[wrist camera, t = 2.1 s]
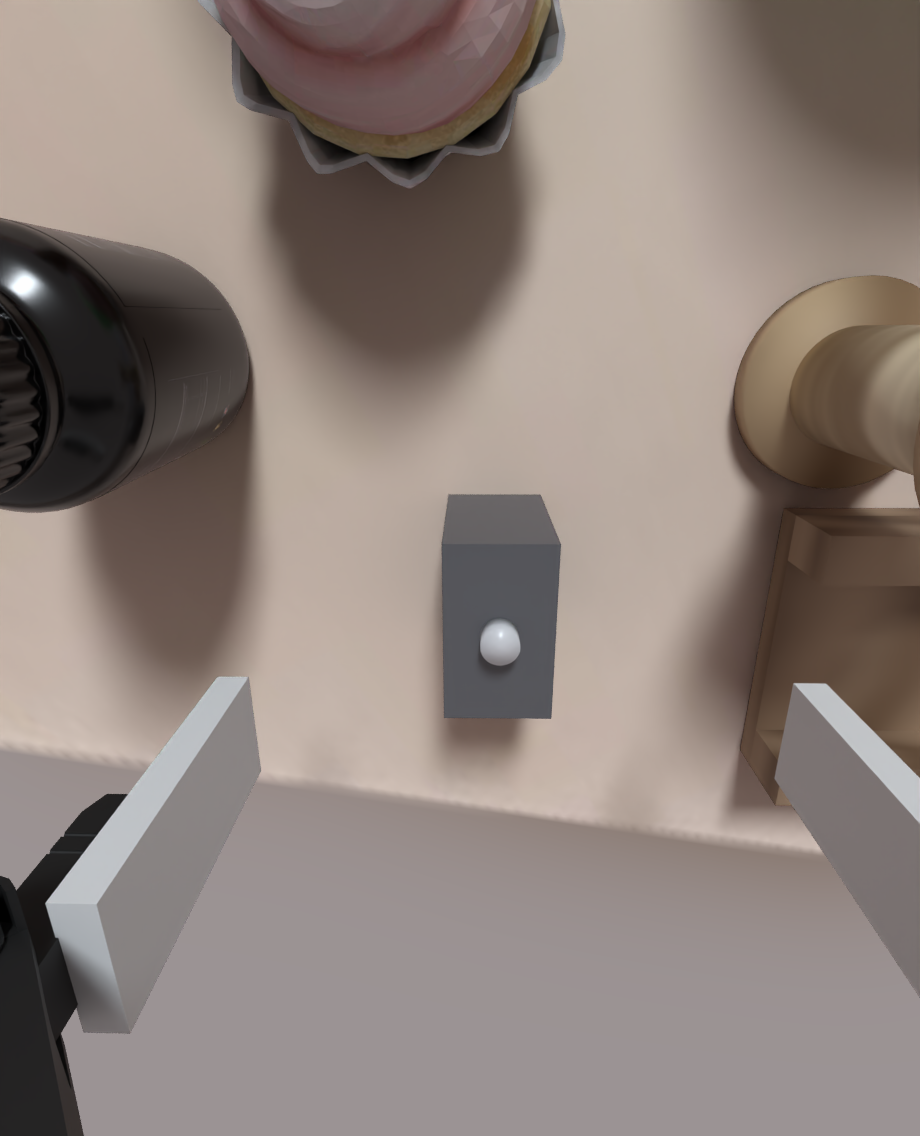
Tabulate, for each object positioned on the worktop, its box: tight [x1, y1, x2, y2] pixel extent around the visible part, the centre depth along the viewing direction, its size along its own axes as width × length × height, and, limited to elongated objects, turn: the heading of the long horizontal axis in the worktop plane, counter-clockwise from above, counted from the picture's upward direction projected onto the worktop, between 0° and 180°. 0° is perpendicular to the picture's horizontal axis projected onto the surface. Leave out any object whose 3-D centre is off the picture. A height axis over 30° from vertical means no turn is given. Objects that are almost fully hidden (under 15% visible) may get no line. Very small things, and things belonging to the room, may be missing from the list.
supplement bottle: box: [0, 218, 249, 513], centre depth 17 cm, size 7×7×12 cm
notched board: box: [740, 508, 920, 806], centre depth 25 cm, size 10×11×4 cm
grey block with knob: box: [442, 495, 561, 719], centre depth 22 cm, size 4×6×7 cm, turn 0°
